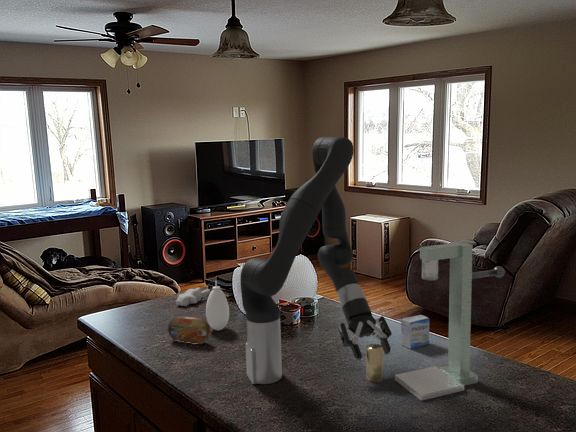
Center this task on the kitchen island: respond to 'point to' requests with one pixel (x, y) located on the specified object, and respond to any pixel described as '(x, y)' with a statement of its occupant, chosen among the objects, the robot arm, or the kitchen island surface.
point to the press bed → (458, 369)
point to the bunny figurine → (191, 296)
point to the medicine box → (415, 331)
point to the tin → (189, 329)
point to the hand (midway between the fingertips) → (374, 356)
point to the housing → (374, 363)
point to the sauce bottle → (217, 309)
